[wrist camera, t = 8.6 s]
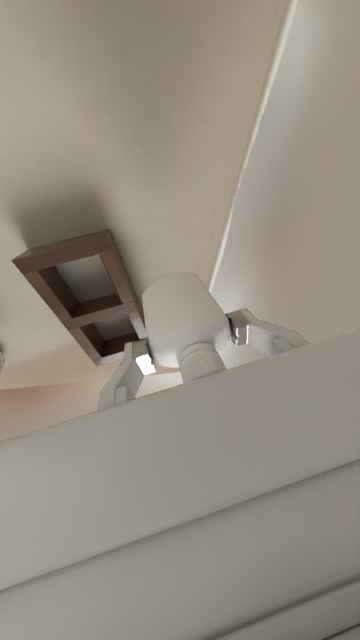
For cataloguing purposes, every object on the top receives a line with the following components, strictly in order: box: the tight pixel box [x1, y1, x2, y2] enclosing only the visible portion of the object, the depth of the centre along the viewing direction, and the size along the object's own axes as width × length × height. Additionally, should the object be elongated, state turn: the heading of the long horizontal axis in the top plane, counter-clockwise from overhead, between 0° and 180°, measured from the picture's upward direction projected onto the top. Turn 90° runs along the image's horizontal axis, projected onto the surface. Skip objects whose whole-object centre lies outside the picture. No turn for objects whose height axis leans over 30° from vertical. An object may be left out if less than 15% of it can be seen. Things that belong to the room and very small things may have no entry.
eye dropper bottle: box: [142, 272, 231, 383], centre depth 13 cm, size 4×6×12 cm
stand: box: [12, 229, 147, 366], centre depth 26 cm, size 19×10×4 cm, turn 11°
